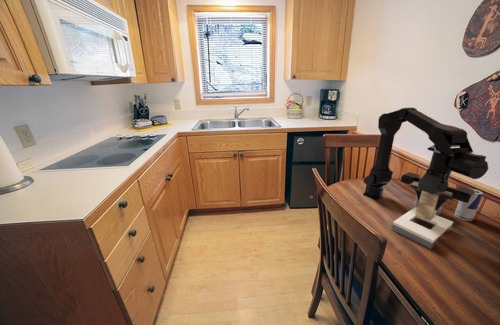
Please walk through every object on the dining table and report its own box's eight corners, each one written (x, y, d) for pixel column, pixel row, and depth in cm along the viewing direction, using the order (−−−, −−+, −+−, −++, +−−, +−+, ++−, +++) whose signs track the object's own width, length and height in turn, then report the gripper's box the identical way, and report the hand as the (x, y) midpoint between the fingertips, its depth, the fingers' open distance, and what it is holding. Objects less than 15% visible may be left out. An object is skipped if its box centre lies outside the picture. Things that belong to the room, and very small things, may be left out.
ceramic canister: (409, 208, 91) (412, 194, 89) (421, 204, 94) (424, 190, 92) (431, 218, 83) (435, 203, 81) (443, 213, 86) (447, 198, 84)
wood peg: (414, 214, 76) (422, 190, 73) (420, 210, 78) (427, 186, 75) (429, 220, 72) (438, 195, 69) (435, 216, 75) (443, 191, 71)
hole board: (391, 229, 78) (393, 221, 77) (413, 214, 87) (415, 207, 86) (430, 249, 68) (433, 240, 67) (450, 229, 77) (453, 221, 76)
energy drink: (476, 222, 81) (487, 194, 77) (460, 220, 82) (470, 193, 78) (465, 214, 86) (476, 188, 82) (450, 213, 87) (460, 187, 83)
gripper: (397, 163, 72) (388, 202, 78) (472, 182, 57) (453, 229, 63) (412, 157, 78) (402, 194, 83) (483, 173, 63) (466, 217, 68)
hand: (427, 207), depth 74 cm, fingers closed on wood peg, 4 cm apart
